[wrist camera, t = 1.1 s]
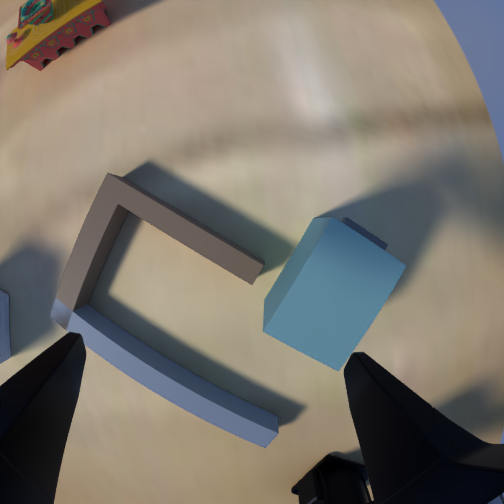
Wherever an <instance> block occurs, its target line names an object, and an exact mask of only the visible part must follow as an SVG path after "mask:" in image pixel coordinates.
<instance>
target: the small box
mask: <svg viewBox="0 0 504 504" xmlns="http://www.w3.org/2000/svg"><path fill="white" fill-rule="evenodd" d="M9 358H11V350H10V332H9V295H8V294H6V293H5V292H3V291H1V290H0V364H1V363H2V362H4V361H6V360H7V359H9Z"/></svg>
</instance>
